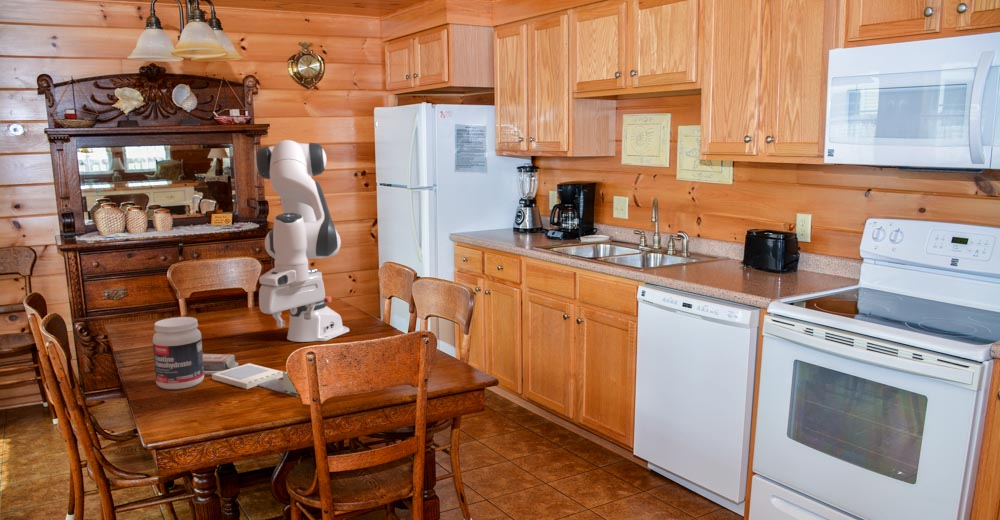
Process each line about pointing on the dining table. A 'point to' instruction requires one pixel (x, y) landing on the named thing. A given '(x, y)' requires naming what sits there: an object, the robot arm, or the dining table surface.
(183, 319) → the supplement tub
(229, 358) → the packaged product
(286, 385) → the pale green cube
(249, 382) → the board
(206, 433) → the dining table surface
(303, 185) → the robot arm
